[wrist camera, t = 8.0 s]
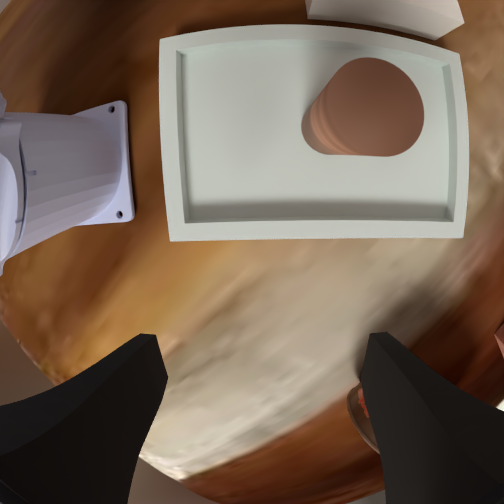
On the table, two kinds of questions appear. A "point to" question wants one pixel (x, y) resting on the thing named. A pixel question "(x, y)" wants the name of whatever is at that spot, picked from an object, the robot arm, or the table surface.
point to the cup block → (392, 14)
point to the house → (500, 338)
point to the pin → (365, 111)
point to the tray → (302, 139)
